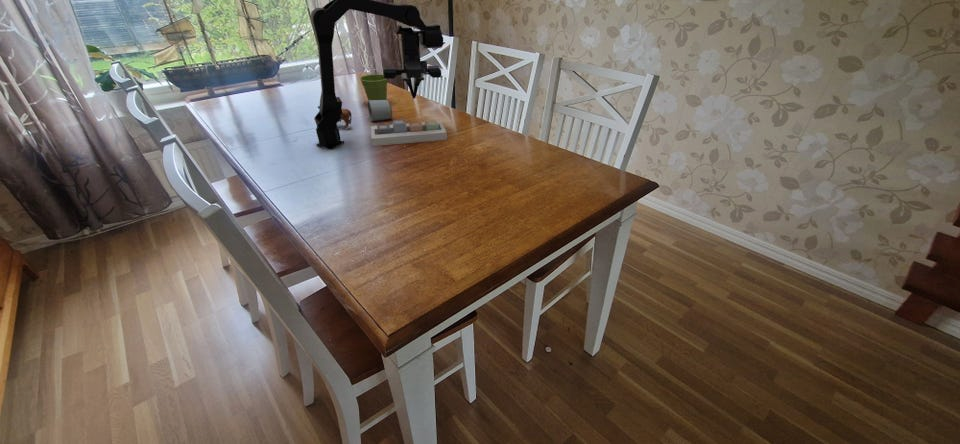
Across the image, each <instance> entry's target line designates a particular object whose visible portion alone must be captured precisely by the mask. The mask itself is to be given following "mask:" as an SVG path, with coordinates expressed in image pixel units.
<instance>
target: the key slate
mask: <svg viewBox="0 0 960 444" xmlns="http://www.w3.org/2000/svg"><path fill="white" fill-rule="evenodd" d="M406 124H407V122H406V119H396V120H392V125H393V128H394V133H402V132H407V128H406Z"/></svg>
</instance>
